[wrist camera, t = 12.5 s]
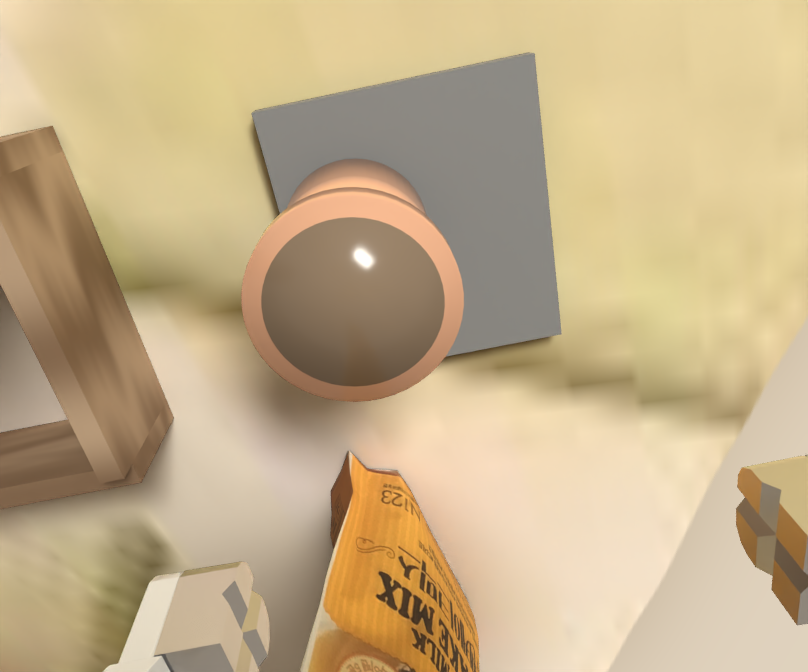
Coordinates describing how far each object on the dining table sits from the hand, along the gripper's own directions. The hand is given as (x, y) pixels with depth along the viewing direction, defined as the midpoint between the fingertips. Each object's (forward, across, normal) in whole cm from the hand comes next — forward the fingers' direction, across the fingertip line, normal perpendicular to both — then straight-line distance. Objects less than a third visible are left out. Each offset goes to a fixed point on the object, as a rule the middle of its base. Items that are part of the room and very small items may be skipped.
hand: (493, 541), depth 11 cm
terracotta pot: (+18, +2, 0) cm, 18 cm away
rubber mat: (+19, 0, +1) cm, 19 cm away
